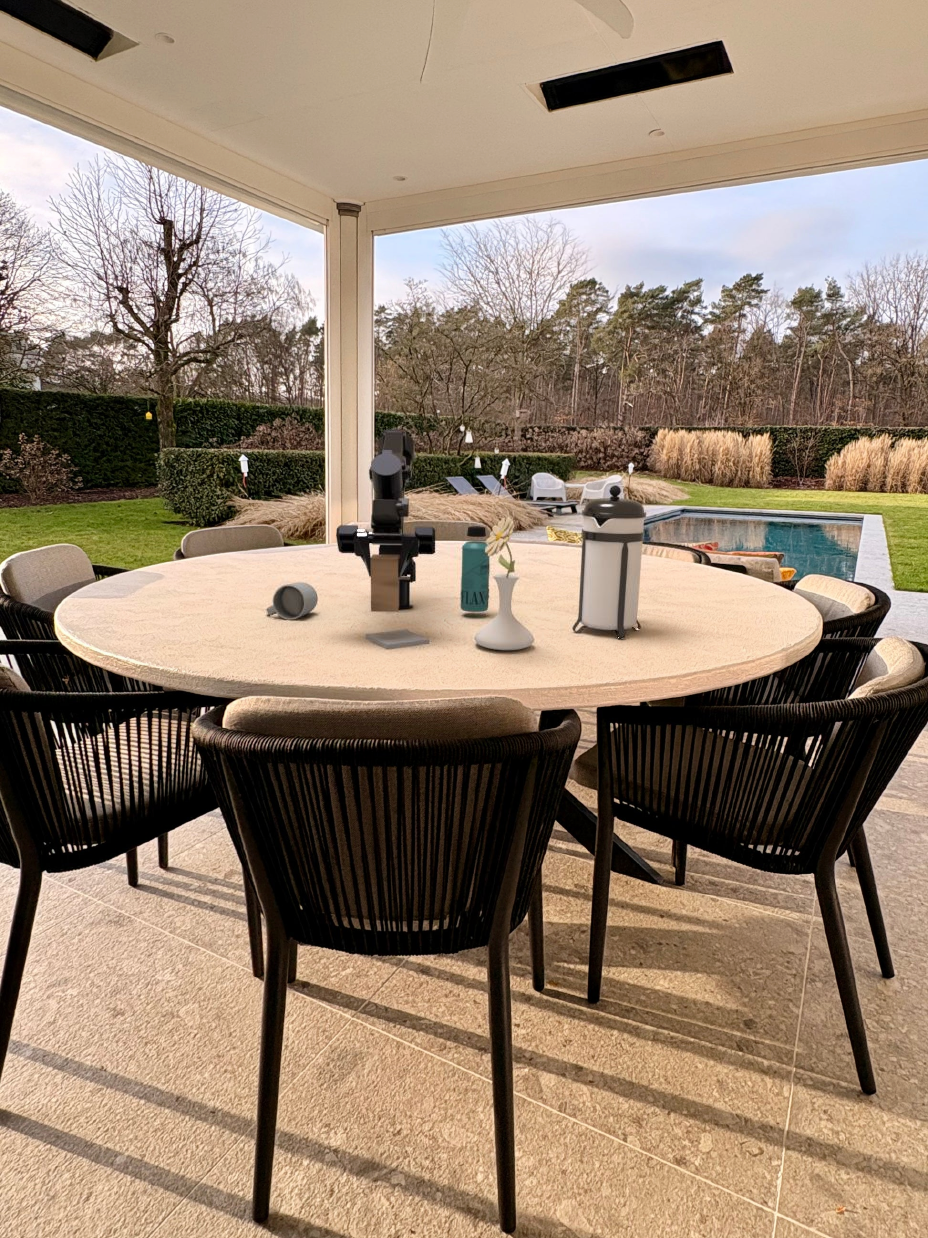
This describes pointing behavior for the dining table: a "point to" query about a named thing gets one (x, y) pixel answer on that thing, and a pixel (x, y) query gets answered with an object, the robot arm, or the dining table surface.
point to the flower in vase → (503, 599)
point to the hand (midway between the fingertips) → (384, 575)
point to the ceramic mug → (293, 600)
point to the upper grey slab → (397, 639)
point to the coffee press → (610, 563)
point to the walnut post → (384, 583)
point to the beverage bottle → (475, 573)
